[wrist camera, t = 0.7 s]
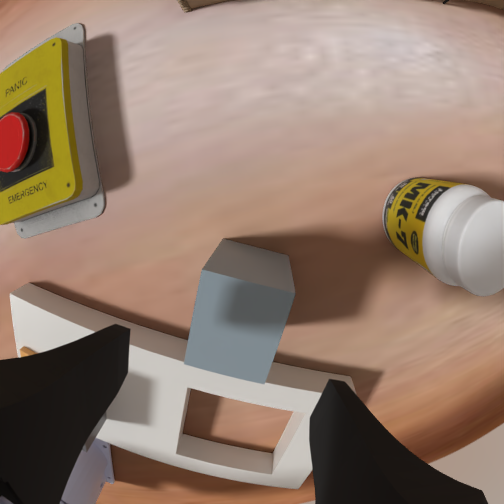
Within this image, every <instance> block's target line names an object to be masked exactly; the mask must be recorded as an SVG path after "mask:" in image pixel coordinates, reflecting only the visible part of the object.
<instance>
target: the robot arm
mask: <svg viewBox="0 0 504 504" xmlns="http://www.w3.org/2000/svg"><path fill="white" fill-rule="evenodd" d="M130 330H131V329H130V328H127V327H124V326H121V325H118V324H113V325H111V326H108V327H106V328H104V329H101V330H99V331H97V332H94V333H92V334H90V335H88V336H85V337H83V338H80V339H78V340H76V341H73V342H71V343H68V344H65V345H62V346H59V347H57V348H54V349H51V350H48V351H45V352H41V353H37V354H33V355H29V356H24V357H19V358H12V359H5V360H0V504H95V503H96V501H97V499H98V497H99V495H100V492H101V490H102V488H103V486H104V484H105V482H109V483H111V484H113V483H114V482H115V480H114V473H113V465H112V457H111V449H110V443H108V442H105V441H103V440H100V439H98V438H95V440H94V441H93V443H92V445H91V446H90V448H89V450H88V451H87V452H85V451H83V450H82V449H83V446H84V444H85V442H86V441H87V439H88V437H89V436H90V434H91V432H92V431H93V429H94V428H95V426H96V425H97V424H98V422H99V421H100V419H101V418H102V416H103V415H104V413H105V412H106V410H107V409H108V407H109V406H110V404H111V403H112V401H113V400H114V398H115V397H116V395H117V394H118V392H119V390H120V388H121V386H122V384H123V382H124V380H125V378H126V376H127V374H128V365H129V345H130ZM309 444H310V452H311V461H312V469H313V477H314V485H315V498H316V503H315V504H488V502H487V500H486V498H485V496H484V493H483V492H482V490H479V489H476V488H474V487H471V486H469V485H466V484H464V483H461V482H459V481H457V480H454V479H453V478H451V477H449V476H447V475H445V474H443V473H441V472H439V471H438V470H436V469H434V468H433V467H431V466H430V465H428V464H427V463H425V462H424V461H422V460H421V459H420V458H418V457H417V456H416V455H414V454H413V453H412V452H410V451H409V450H408V449H407V448H406V447H405V446H403V445H402V444H401V443H400V442H399V441H398V440H397V439H396V438H394V437H393V436H392V435H391V434H390V433H389V431H388V430H387V429H386V428H385V427H384V426H383V425H382V424H381V423H380V422H379V421H378V420H377V419H376V418H375V416H374V415H373V414H372V413H371V412H370V411H369V409H368V408H367V407H366V406H365V405H364V403H363V402H362V401H361V400H360V399H359V397H358V396H357V395H356V394H355V393H354V391H353V390H352V389H351V388H350V387H349V385H348V384H347V383H346V382H345V381H340V380H334V379H329V380H328V382H327V384H326V386H325V388H324V390H323V392H322V394H321V396H320V398H319V400H318V402H317V404H316V406H315V408H314V410H313V412H312V414H311V416H310V422H309Z"/></svg>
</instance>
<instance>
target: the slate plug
mask: <svg viewBox="0 0 504 504" xmlns="http://www.w3.org/2000/svg"><path fill="white" fill-rule="evenodd" d="M295 294H296V292H295V287H294V282H293V276H292V271H291V266H290V261H289V255H285V254H281V253H277V252H273V251H270V250H266V249H262V248H258V247H254V246H250V245H246V244H242V243H239V242H235V241H231V240H227V239H222V241H221V242H220V244H219V245H218V247H217V248H216V250H215V251H214V253H213V254H212V255H211V257H210V258H209V260H208V261H207V263H206V264H205V266H204V267H203V269H202V272H201V277H200V282H199V286H198V291H197V296H196V301H195V306H194V312H193V317H192V322H191V327H190V333H189V338H188V343H187V349H186V354H185V360H184V364H185V365H188V366H192V367H195V368H199V369H203V370H206V371H210V372H214V373H218V374H222V375H226V376H230V377H234V378H238V379H242V380H246V381H251V382H255V383H260V384H265V381H266V379H267V376H268V373H269V370H270V368H271V365H272V362H273V359H274V356H275V353H276V351H277V348H278V345H279V342H280V339H281V336H282V333H283V330H284V327H285V324H286V321H287V318H288V315H289V312H290V309H291V306H292V303H293V300H294V297H295Z"/></svg>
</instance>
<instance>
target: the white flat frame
mask: <svg viewBox="0 0 504 504" xmlns="http://www.w3.org/2000/svg"><path fill="white" fill-rule="evenodd" d="M10 302H11V312H12V320H13V328H14V334H15V341H16V347H17V353H18V358H19V357H24V356H29V355H33V354H37V353H41V352H45V351H48V350H51V349H54V348H57V347H59V346H62V345H65V344H68V343H71V342H73V341H76V340H78V339H80V338H83V337H85V336H88V335H90V334H92V333H94V332H97V331H99V330H101V329H104V328H106V327H108V326H111V325H113V324H118V325H121V326H124V327H127V328H130V329H131V330H130V345H129V365H128V374H127V376H126V378H125V380H124V382H123V384H122V386H121V388H120V390H119V392H118V394H117V395H116V397H115V398H114V400H113V401H112V403H111V404H110V406H109V407H108V409H107V410H106V416H107V420H106V421H105V423H104V425H103V426H102V428H101V429H100V431H99V433H98V434H97V436H96V438H98V439H100V440H103V441H105V442H108V443H110V444H112V445H115V446H117V447H120V448H123V449H125V450H128V451H131V452H133V453H136V454H139V455H142V456H145V457H147V458H150V459H153V460H157V461H160V462H163V463H166V464H169V465H173V466H176V467H180V468H183V469H187V470H191V471H195V472H199V473H203V474H207V475H211V476H216V477H220V478H225V479H230V480H235V481H241V482H246V483H252V484H259V485H266V486H273V487H282V488H291V489H299V487H300V486H301V485H302V483H303V482H304V481H305V479H306V478H307V477H308V475H309V474H310V472H311V471H312V470H313V469H312V461H311V452H310V444H309V422H310V416H311V414H312V412H313V410H314V408H315V406H316V404H317V402H318V400H319V398H320V396H321V394H322V392H323V390H324V388H325V386H326V384H327V382H328V380H329V379H334V380H340V381H345V382H346V383H347V384H348V385H349V387H350V388H351V389H352V390H353V391H354V393H355V394H356V391H355V388H354V385H353V382H352V379H351V376H345V375H339V374H333V373H327V372H321V371H316V370H310V369H305V368H300V367H295V366H290V365H285V364H280V363H276V362H272V365H271V368H270V370H269V373H268V376H267V379H266V381H265V384H260V383H255V382H251V381H246V380H242V379H238V378H234V377H230V376H226V375H222V374H218V373H214V372H210V371H206V370H203V369H199V368H195V367H192V366H188V365H185V364H184V360H185V354H186V349H187V343H188V340H185V339H182V338H178V337H175V336H172V335H168V334H165V333H162V332H159V331H155V330H152V329H149V328H146V327H143V326H140V325H137V324H134V323H131V322H128V321H125V320H122V319H119V318H116V317H114V316H111V315H108V314H105V313H103V312H100V311H97V310H94V309H92V308H89V307H87V306H84V305H81V304H79V303H76V302H74V301H71V300H69V299H66V298H64V297H61V296H59V295H56V294H54V293H52V292H49V291H47V290H45V289H42V288H40V287H38V286H35V285H33V284H31V283H27V284H25V285H23V286H22V287H20V288H18V289H16V290H15V291H13V292H11V293H10ZM191 388H192V389H196V390H199V391H203V392H207V393H210V394H214V395H218V396H222V397H226V398H230V399H235V400H239V401H243V402H248V403H253V404H257V405H262V406H267V407H272V408H278V409H283V410H289V411H293V413H292V416H291V418H290V420H289V422H288V424H287V426H286V428H285V430H284V432H283V434H282V436H281V438H280V440H279V442H278V444H277V446H276V447H275V449H274V451H273V453H267V452H261V451H256V450H250V449H245V448H240V447H235V446H230V445H226V444H221V443H217V442H213V441H209V440H205V439H201V438H197V437H193V436H190V435H186V434H183V428H184V422H185V417H186V412H187V406H188V401H189V396H190V391H191ZM356 395H357V394H356Z"/></svg>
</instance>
